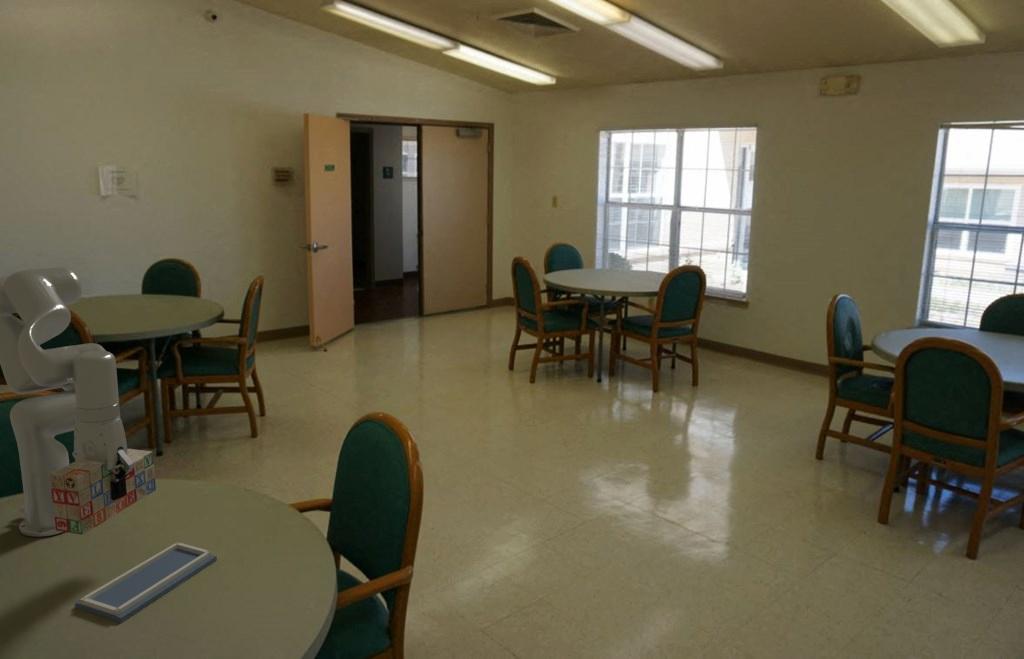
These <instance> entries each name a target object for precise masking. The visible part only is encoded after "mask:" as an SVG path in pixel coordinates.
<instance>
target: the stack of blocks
mask: <svg viewBox="0 0 1024 659" xmlns="http://www.w3.org/2000/svg"><path fill="white" fill-rule="evenodd" d="M127 453H128V457H129V458H130V459H131V461H132V462H133V463H134V467H133V469H132V470H131V472H130V473H129V475H128V477H127V478H126V489H127V494H126V496H124V497H121V498H119V499H117V500H112V497H111V483H110V482H112V481H113V480H112V478H111V476H110V473H109V472H110V471H104V463H99V462H95V461H91V460H87V459H83V458H81V459H79V460H77V461H74V462H73V461H72V463H69V465H67V466H65V467H63V468H60V469H58V470H56V471H54V472H52V473H51V474H50V476H51V485H52V488H51V491H52V499H53V505H54V514H55V525H56V531H61V532H62V533H70V534H74V535H75V534H76V535H79V536H80V535H82V536H83V535H85V534H86V533H88V532H89V531H91V530H93V529H95V528H97V527H99V526H100V525H102V524H104V523H105V522H106V521H108V520H110V519H112V518H113V517H115V516H116V515H117V514H119V513H120V512H122V511H124V510H125V509H127V508H129V507H130V506H132V505H133V504H135V503H136V502H138V501H140V500H142V499H143V498H146V497H147V496H148V495H151V494H152V493H153V492H155V491H156V489H157V486H156V470H155V464H154V452H153V451H152V450H143V449H141V450H140V449H133V448H127ZM117 464H118V463H117V462H116V465H117ZM115 471H116V474H118V473H119V472H120V471H119V469H118V468H116V469H115Z"/></svg>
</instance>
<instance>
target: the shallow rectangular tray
mask: <svg viewBox="0 0 1024 659" xmlns="http://www.w3.org/2000/svg"><path fill="white" fill-rule="evenodd" d="M216 561H217V556H216V555H213V554H212V550H207V549H204V548H200V547H196V546H193V545H191V544H186V543H183V542H178V541H177V542H175V543H173V544H171V545H170V546H167V547H166V548H165V549H163V550H162V551H160V552H158V553H156V554H154V555H153V556H151V557H149V558H148V559H146V560H144V561H143V562H141V563H138V564H137V565H136V566H134V567H133V568H130V569H128V570H127V571H126V572H123V573H122V574H120V575H119V576H117V577H115V578H114V579H112V580H110V581H108V582H107V583H104V585H102V586H99V587H98V588H96V589H95V590H93V591H91V592H90V593H88V594H86V595H84V596H82V597H81V598H79V600H77V601H75V602H74V607H75V608H76V609H79V610H82V611H85V612H88V613H91V614H94V615H97V616H100V617H104V618H106V619H109V620H112V621H114V622H118V623H124V622H125V621H126V620H128V619H129V618H130V619H131V617H132V616H134V615H136V614H138V612H140V611H142V610H144V609H145V608H147V607H148V606H149V605H151V604H152V603H154V602H155V601H157V600H159V599H160V598H161V597H163V596H165V595H166V594H167V593H169V592H170V591H172V590H174V589H175V588H176V587H178V586H180V585H181V584H182V583H184V582H186V581H187V580H189V579H190V578H192V577H194V576H196V574H198V573H200V572H201V571H203V570H204V569H206V568H207V567H208V566H210V565H212V564H213V563H215V562H216Z"/></svg>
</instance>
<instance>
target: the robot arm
mask: <svg viewBox="0 0 1024 659" xmlns="http://www.w3.org/2000/svg"><path fill="white" fill-rule="evenodd" d="M82 290H83V288H82V283H81V280H80V278H79V277H78V275H77V274H76V273H75V272H74V271H73V270H71V269H70V268H67V267H64V266H62V267H61V266H60V267H58V266H57V267H49V268H47V267H46V268H33V269H24V270H23V269H22V270H19V271H15V272H13V273H12V274H10V275H9V276H0V368H1V371H2V373H3V377H4V380H5V382H6V385H7V387H8V388H9V390H10V391H11V392H12V393H15V394H17V395H27V394H33V393H39V392H45V391H49V390H50V391H51V390H54V389H62V390H64V391H59V392H53V393H47V394H43V395H37V396H32V397H28V398H26V399H23V400H21V401H18V402H17V403H16V404H14V405H13V406H12V408H11V409H10V414H9V418H10V424H11V426H12V430H13V434H14V436H15V440H16V443H17V449H18V455H19V465H20V471H21V480H22V490H23V498H24V499H23V500H24V503H23V505H20V506H19V507H18V512H20V513H24V514H23V515H24V519H23V520H22V521H21V522H20V523H19V527H18V528H19V532H20V534H22V535H24V536H27V537H35V538H36V537H37V538H38V537H40V538H42V537H49V536H54V535H58V534H61V533H63V532H61V531H56V525H55V514H54V505H53V499H52V491H51V488H52V485H51V476H50V474H51V473H52V472H54V471H56V470H58V469H60V468H63V467H65V466H67V465H69V464H70V458H69V452H68V450H67V448H66V447H65V445H64V444H63V443H61V442H60V441H58V440H56V438H55V436H57V435H61V434H65V433H69V432H72V431H73V452H72V453H71V454H72V457H73V458H74V462H76V461H77V460H79V459H81V458H83V459H87V460H91V461H95V462H99V463H104V471H110V472H109V473H110V476H111V478H112V480H113V481H112V482H110V483H111V497H112V500H117V499H119V498H121V497H124V496H126V494H127V489H126V478H127V477H128V475H129V473H130V472H131V470H132V469H133V467H134V463H133V462H132V461H131V459H130V458H129V457H128V453H127V449H128V445H127V444H128V443H127V438H126V434H125V429H124V428H125V427H124V425H123V420H122V418H121V410H120V408H121V407H120V398H119V386H118V384H119V383H118V374H117V362H116V358H115V355H114V354H113V353H111V352H110V351H107V350H106V349H105V348H104V347H103V346H102V345H101V344H98V343H95V342H94V343H93V342H91V343H90V342H89V343H82V344H76V345H68V346H61V347H55V348H47V349H43V348H42V347H41V345H42V344H44V343H47V342H48V341H50V340H52V339H53V338H55V337H56V336H59V335H60V334H62V333H63V332H64V331H65V330H66V329H67V328H68V326H69V325H70V323H71V319H72V316H71V315H72V314H71V311H70V309H69V308H68V307H67V306H70V305H73V304H76V303H77V302H78V301H79V300H80V299H81V297H82V292H83V291H82ZM13 314H18V316H19V317H20V318H18V317H16V316H15V315H13ZM116 462H117V463H118V464H117V465H116ZM116 468H118V469H119V471H120V472H119V473H118V474H116V471H115V469H116Z"/></svg>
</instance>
